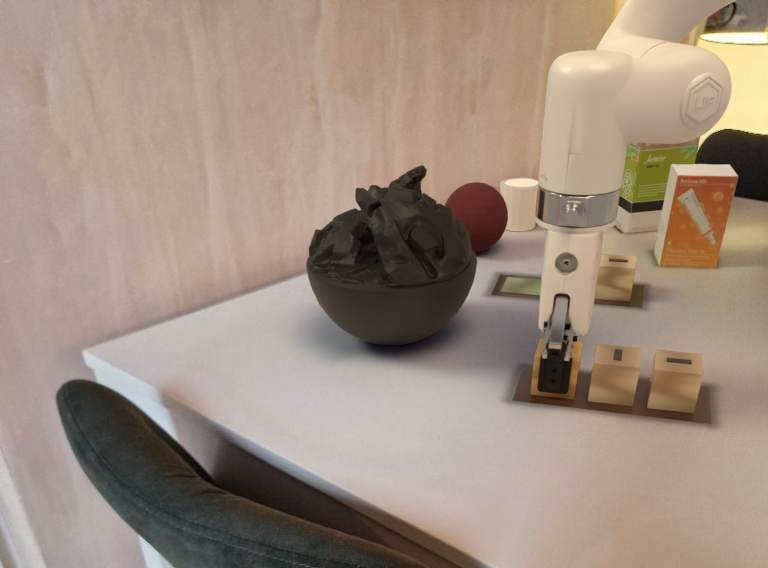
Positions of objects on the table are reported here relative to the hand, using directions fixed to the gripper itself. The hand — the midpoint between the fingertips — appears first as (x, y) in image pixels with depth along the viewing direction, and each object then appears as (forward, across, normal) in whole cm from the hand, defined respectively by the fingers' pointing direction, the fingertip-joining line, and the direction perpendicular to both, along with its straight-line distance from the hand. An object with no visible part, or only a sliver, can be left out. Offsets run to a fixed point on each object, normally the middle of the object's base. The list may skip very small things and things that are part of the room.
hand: (555, 378), depth 82 cm
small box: (+2, +44, -14) cm, 46 cm away
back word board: (+2, +28, +2) cm, 28 cm away
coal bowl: (+2, +9, +21) cm, 23 cm away
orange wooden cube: (+1, 0, 0) cm, 1 cm away
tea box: (+2, +63, -6) cm, 63 cm away
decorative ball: (+2, +42, +18) cm, 46 cm away
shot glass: (+2, +56, +13) cm, 57 cm away
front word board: (+2, 0, -6) cm, 6 cm away
